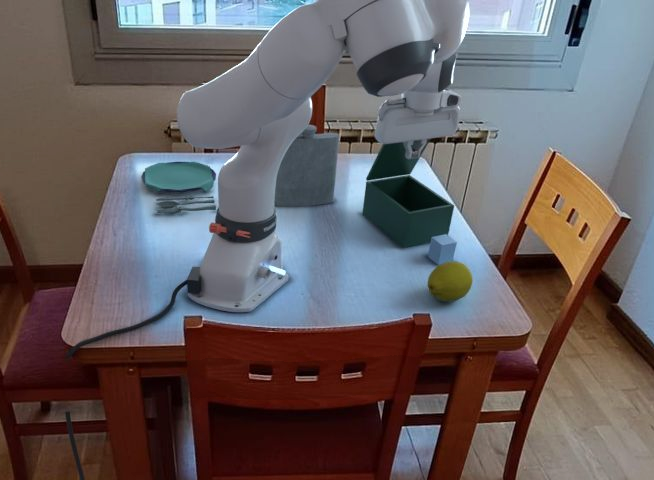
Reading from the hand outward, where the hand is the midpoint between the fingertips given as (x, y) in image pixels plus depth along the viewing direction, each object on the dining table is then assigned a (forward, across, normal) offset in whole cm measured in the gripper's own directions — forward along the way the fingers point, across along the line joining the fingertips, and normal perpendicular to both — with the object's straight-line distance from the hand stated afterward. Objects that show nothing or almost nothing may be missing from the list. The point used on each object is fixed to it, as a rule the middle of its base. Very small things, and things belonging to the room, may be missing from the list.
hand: (412, 157), depth 142 cm
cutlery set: (+17, -45, +37) cm, 61 cm away
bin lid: (-1, 0, +4) cm, 4 cm away
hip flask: (+17, -18, +19) cm, 31 cm away
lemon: (+17, -9, -31) cm, 37 cm away
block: (+17, -1, -18) cm, 24 cm away
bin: (+17, 0, -1) cm, 17 cm away
